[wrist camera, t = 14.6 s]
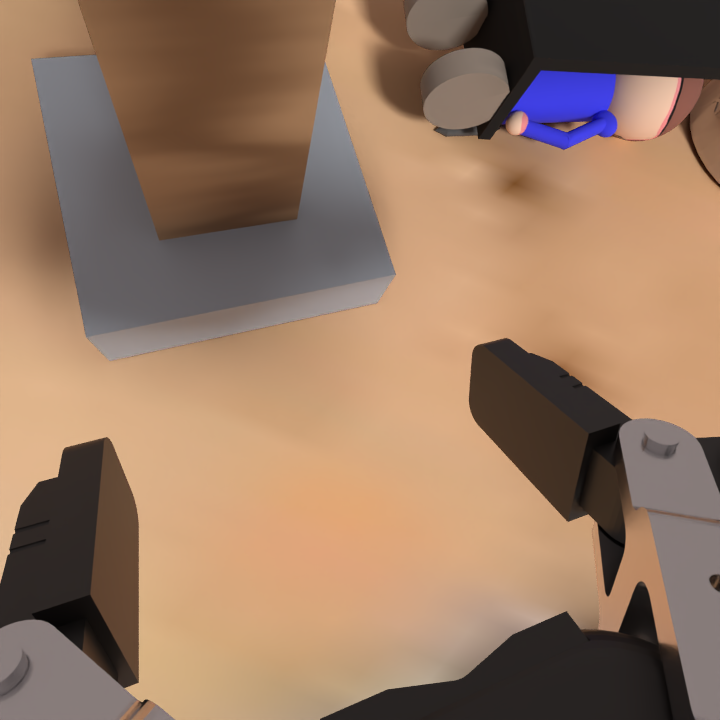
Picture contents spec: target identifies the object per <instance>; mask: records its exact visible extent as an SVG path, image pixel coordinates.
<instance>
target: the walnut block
mask: <svg viewBox="0 0 720 720" xmlns="http://www.w3.org/2000/svg"><path fill="white" fill-rule="evenodd" d="M335 2H336V0H78V3H79V6H80V9H81V11H82V14H83V17H84V20H85V23H86V26H87V29H88V32H89V35H90V38H91V41H92V44H93V47H94V50H95V53H96V56H97V59H98V62H99V64H100V67H101V70H102V73H103V76H104V79H105V82H106V85H107V88H108V91H109V94H110V97H111V100H112V103H113V106H114V109H115V112H116V115H117V117H118V120H119V123H120V126H121V129H122V132H123V135H124V138H125V141H126V144H127V147H128V150H129V153H130V156H131V159H132V162H133V165H134V168H135V170H136V173H137V176H138V179H139V182H140V185H141V188H142V191H143V194H144V197H145V200H146V203H147V206H148V209H149V212H150V215H151V218H152V221H153V223H154V226H155V229H156V232H157V235H158V238H159V241H160V240H166V239H173V238H179V237H186V236H192V235H198V234H205V233H211V232H218V231H224V230H231V229H237V228H244V227H250V226H256V225H263V224H269V223H276V222H282V221H289V220H295V219H297V217H298V211H299V205H300V200H301V194H302V188H303V183H304V177H305V171H306V166H307V160H308V154H309V149H310V143H311V138H312V132H313V126H314V121H315V115H316V109H317V104H318V98H319V92H320V87H321V81H322V75H323V70H324V64H325V58H326V53H327V47H328V41H329V36H330V30H331V24H332V19H333V13H334V7H335Z"/></svg>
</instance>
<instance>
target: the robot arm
mask: <svg viewBox="0 0 720 720" xmlns="http://www.w3.org/2000/svg"><path fill="white" fill-rule="evenodd" d="M690 129H691V134H692V139H693V142H694V145H695V147H696V150H697V152H698V155H699V156H700V158H701V160H702V162H703V163H704V165H705V167H706V168H707V170H708V171H709V172H710V173H711V175H712V176H713V177H714V178H715V180H716V181H717V182H718V183H719V184H720V80H715V79H712V80H711V81H710V82H709V83H708V84H707V85H706V86H705V87H704V88H702V90H701V93H700V96H699V98H698V100H697V102H696V104H695V106H694V107H693V109H692V110H691V112H690ZM469 405H470V410H471V413H472V415H473V418H474V420H475V421H476V423H477V424H478V425H479V426H480V427H481V428H482V430H483V431H484V432H485V433H486V434H487V435H488V436H489V437H490V438H491V439H492V440H493V441H494V443H495V444H496V445H497V446H498V447H499V448H500V449H501V450H502V451H503V452H504V453H505V454H506V456H507V457H508V458H509V459H510V460H511V461H512V462H513V463H514V464H515V465H516V466H517V467H518V469H519V470H520V471H521V472H522V473H523V474H524V475H525V476H526V477H527V478H528V479H529V480H530V482H531V483H532V484H533V485H534V486H535V487H536V488H537V489H538V490H539V491H540V492H541V493H542V494H543V496H544V497H545V498H546V499H547V500H548V501H549V502H550V503H551V504H552V505H553V506H554V507H555V509H556V510H557V511H558V512H559V513H560V514H561V515H562V516H563V517H564V518H565V519H566V520H567V522H569V521H571V520H574V519H577V518H579V517H582V516H585V515H587V514H589V515H590V516H591V517H592V518H593V519H594V520H595V521H594V525H593V528H592V537H593V547H594V557H595V567H596V577H597V587H598V597H599V609H600V615H599V627H598V630H586V629H583V630H580V628H579V627H578V626H577V624H576V623H575V622H574V621H573V619H572V618H571V617H570V615H569V614H568V613H567V611H566V612H564V613H561V614H559V615H557V616H555V617H552V618H550V619H548V620H545V621H543V622H541V623H538V624H536V625H534V626H532V627H529V628H527V629H525V630H522V631H520V632H518V633H516V634H513V635H512V636H511V637H509V638H508V639H507V640H506V641H505V642H504V643H503V644H502V645H500V646H499V647H498V648H497V649H496V650H495V651H494V652H493V653H491V654H490V655H489V656H488V657H487V658H486V659H485V660H484V661H482V662H481V663H480V664H479V665H478V666H477V667H476V668H475V669H473V670H472V671H471V672H470V673H469V674H468V675H466V676H465V677H464V678H462V679H459V680H455V681H449V682H441V683H434V684H426V685H418V686H411V687H403V688H396V689H388V690H385V691H383V692H381V693H378V694H376V695H374V696H372V697H369V698H367V699H365V700H362V701H360V702H358V703H356V704H353V705H351V706H349V707H346V708H344V709H342V710H340V711H337V712H335V713H333V714H330V715H328V716H326V717H324V718H321V719H320V720H720V437H707V438H695V437H694V436H693V435H691V434H690V433H689V432H687V431H686V430H684V429H682V428H681V427H678V426H676V425H674V424H671V423H668V422H665V421H661V420H656V419H635V420H632V419H630V418H629V417H628V416H626V415H625V414H624V413H622V412H621V411H619V410H618V409H617V408H615V407H614V406H613V405H611V404H610V403H609V402H607V401H606V400H605V399H603V398H602V397H600V396H599V395H598V394H596V393H595V392H594V391H592V390H591V389H590V388H588V387H587V386H583V385H582V383H581V382H580V381H579V380H577V379H576V378H575V377H573V376H569V373H568V372H566V371H565V370H564V369H562V368H561V367H560V366H558V365H557V364H555V363H554V362H553V361H550V360H548V359H545V358H543V357H540V356H538V355H535V354H532V353H527V352H526V351H525V350H523V349H522V348H521V347H520V346H518V345H517V344H516V343H514V342H513V341H512V340H510V339H507V338H504V339H500V340H496V341H492V342H488V343H484V344H480V345H477V346H476V347H475V348H474V350H473V353H472V364H471V377H470V391H469ZM9 550H10V554H9V555H8V556H7V560H6V564H5V568H4V572H3V575H2V579H1V583H0V720H175V719H173V718H172V717H171V716H170V715H169V714H168V713H166V712H165V711H164V710H163V709H162V708H160V707H159V706H158V705H156V704H155V703H153V702H152V701H150V700H144V701H143V702H140V701H139V700H137V699H136V698H135V697H133V696H132V695H131V694H130V693H129V692H128V691H127V690H125V689H124V688H126V687H128V686H131V685H134V684H136V683H139V524H138V514H137V508H136V504H135V500H134V497H133V494H132V491H131V489H130V486H129V484H128V481H127V479H126V476H125V474H124V471H123V469H122V466H121V464H120V461H119V459H118V457H117V454H116V452H115V449H114V447H113V444H112V442H111V441H110V439H109V438H107V437H106V438H102V439H98V440H94V441H90V442H86V443H82V444H78V445H74V446H70V447H66V448H64V450H63V453H62V458H61V464H60V469H59V474H58V477H56V478H52V479H49V480H45V481H41V482H39V483H38V484H37V485H36V486H35V488H34V489H33V490H32V492H31V493H30V494H29V496H28V497H27V498H26V500H25V501H24V502H23V504H22V505H21V507H20V511H19V514H18V518H17V522H16V526H15V534H13V537H12V541H11V545H10V549H9Z"/></svg>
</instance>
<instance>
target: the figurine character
mask: <svg viewBox="0 0 720 720" xmlns="http://www.w3.org/2000/svg"><path fill="white" fill-rule="evenodd" d="M404 11H405V19H406V26H407V32H408V34H409V36H410V38H411V39H412V40H413V41H414V42H415V43H416V44H417V45H419V46H421V47H423V48H426V49H429V50H448V49H452V48H455V47H458V46H461V45H463V44H464V49H460V50H456V51H453V52H451V53H448V54H446V55H444V56H442V57H440V58H439V59H437V60H436V61H434V62H433V63H432V64H431V65H430V66H429V67H428V68H427V69H426V71H425V72H424V74H423V76H422V78H421V82H420V88H421V96H422V103H423V111H424V115H425V117H426V119H427V120H428V121H429V122H430V123H432V124H433V125H435V126H438V127H439V128H437V129H436V130H435V131H437V132H438V133H440V134H442V135H444V136H473V135H478V139H488V140H490V139H491V137H492V136H493V135H494V133H495V132H496V131H497V130H498V129H500V128H499V127H500V125H501V124H506V129H507V131H508V133H510V134H511V135H523V136H526V137H529V138H532V139H535V140H538V141H541V142H544V143H546V144H549V145H552V146H555V147H558V148H561V149H567V148H569V147H571V146H573V145H575V144H577V143H580V142H582V141H584V140H586V139H588V138H590V137H592V136H595V135H597V134H598V135H599V136H601V137H610V136H612V135H614V136H616V137H618V138H620V139H624V140H628V141H644V140H649V139H653V138H656V137H659V136H661V135H663V134H665V133H667V132H669V131H670V130H672V129H673V128H675V127H676V126H677V125H678V124H680V123H681V122H682V121H683V120H684V119H685V118H686V117H687V115H688V114H689V113H690V112H691V110H692V109H693V107H694V106H695V104H696V102H697V100H698V98H699V96H700V93H701V90H702V87H703V83H704V79H715V80H720V0H404ZM583 121H591V122H589V123H587V124H584V125H582V126H580V127H578V128H576V129H573V130H571V131H569V132H564V131H561V130H558V129H555V128H552V127H549V126H546V125H543V124H540V123H554V122H583Z"/></svg>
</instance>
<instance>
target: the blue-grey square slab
mask: <svg viewBox="0 0 720 720" xmlns="http://www.w3.org/2000/svg"><path fill="white" fill-rule="evenodd" d="M31 60H32V65H33V70H34V75H35V80H36V86H37V91H38V96H39V101H40V106H41V111H42V116H43V121H44V126H45V131H46V136H47V141H48V146H49V151H50V157H51V162H52V167H53V172H54V177H55V182H56V187H57V192H58V197H59V202H60V207H61V212H62V217H63V222H64V227H65V233H66V238H67V243H68V248H69V253H70V258H71V263H72V268H73V273H74V278H75V283H76V288H77V293H78V298H79V304H80V309H81V314H82V319H83V324H84V329H85V334H86V338H87V339H88V340H89V341H90V342H91V343H92V344H93V345H94V346H95V347H96V348H97V349H98V350H99V351H100V352H101V353H102V354H103V355H104V356H105V357H106V358H107V359H108V360H109V361H112V360H116V359H121V358H126V357H130V356H135V355H140V354H144V353H149V352H153V351H158V350H163V349H167V348H172V347H176V346H181V345H186V344H190V343H195V342H200V341H204V340H209V339H213V338H218V337H223V336H227V335H232V334H236V333H241V332H246V331H250V330H255V329H260V328H264V327H269V326H273V325H278V324H283V323H287V322H292V321H296V320H301V319H306V318H310V317H315V316H320V315H324V314H329V313H333V312H338V311H343V310H347V309H352V308H356V307H361V306H366V305H370V304H375V303H377V302H378V301H379V299H380V298H381V296H382V295H383V293H384V292H385V290H386V289H387V287H388V286H389V284H390V283H391V281H392V280H393V278H394V277H395V275H396V274H395V271H394V268H393V265H392V262H391V259H390V256H389V253H388V250H387V247H386V244H385V240H384V237H383V234H382V231H381V228H380V225H379V222H378V219H377V216H376V213H375V210H374V207H373V204H372V201H371V198H370V195H369V192H368V189H367V186H366V183H365V180H364V177H363V174H362V171H361V168H360V165H359V162H358V159H357V156H356V153H355V150H354V147H353V144H352V141H351V138H350V135H349V132H348V129H347V126H346V123H345V120H344V117H343V114H342V111H341V108H340V105H339V102H338V99H337V96H336V93H335V90H334V87H333V84H332V81H331V78H330V75H329V72H328V69H327V66H326V63H325V64H324V70H323V75H322V81H321V87H320V92H319V98H318V104H317V109H316V115H315V121H314V126H313V132H312V138H311V143H310V149H309V154H308V160H307V166H306V171H305V177H304V183H303V188H302V194H301V200H300V205H299V211H298V217H297V219H295V220H289V221H282V222H276V223H269V224H263V225H256V226H250V227H244V228H237V229H231V230H224V231H218V232H211V233H205V234H198V235H192V236H186V237H179V238H173V239H166V240H160V241H159V238H158V235H157V232H156V229H155V226H154V223H153V221H152V218H151V215H150V212H149V209H148V206H147V203H146V200H145V197H144V194H143V191H142V188H141V185H140V182H139V179H138V176H137V173H136V170H135V168H134V165H133V162H132V159H131V156H130V153H129V150H128V147H127V144H126V141H125V138H124V135H123V132H122V129H121V126H120V123H119V120H118V117H117V115H116V112H115V109H114V106H113V103H112V100H111V97H110V94H109V91H108V88H107V85H106V82H105V79H104V76H103V73H102V70H101V67H100V64H99V62H98V59H97V56H96V55H84V56H69V57H53V58H38V59H31Z"/></svg>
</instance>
